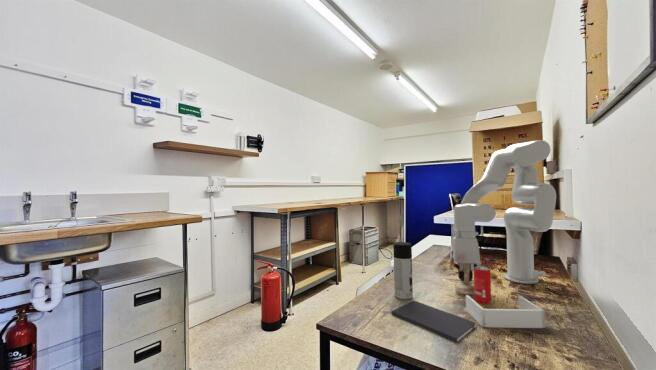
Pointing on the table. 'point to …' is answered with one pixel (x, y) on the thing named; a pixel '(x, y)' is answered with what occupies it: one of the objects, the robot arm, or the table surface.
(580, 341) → the table surface
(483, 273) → the beverage can
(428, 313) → the notebook
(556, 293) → the table surface
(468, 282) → the wooden block structure
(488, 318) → the box
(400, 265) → the spray can
